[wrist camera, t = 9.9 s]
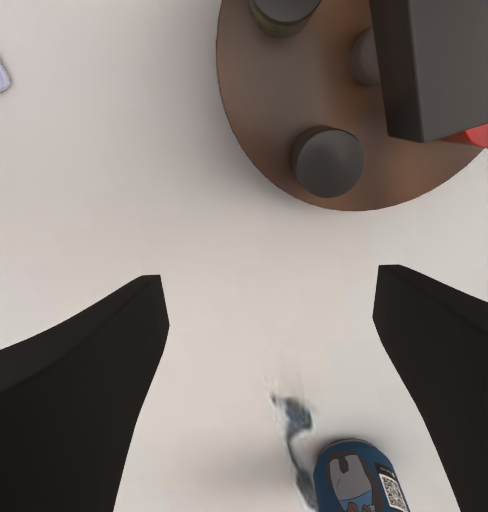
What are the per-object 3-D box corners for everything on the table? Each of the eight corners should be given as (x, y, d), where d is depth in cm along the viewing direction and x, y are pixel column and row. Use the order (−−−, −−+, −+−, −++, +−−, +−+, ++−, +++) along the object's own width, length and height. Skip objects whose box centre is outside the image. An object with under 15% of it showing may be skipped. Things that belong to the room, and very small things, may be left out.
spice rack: (266, 238, 20) (273, 306, 13) (168, -67, 14) (89, -230, 7) (530, 160, 18) (707, 193, 11) (541, -240, 12) (935, -715, 5)
